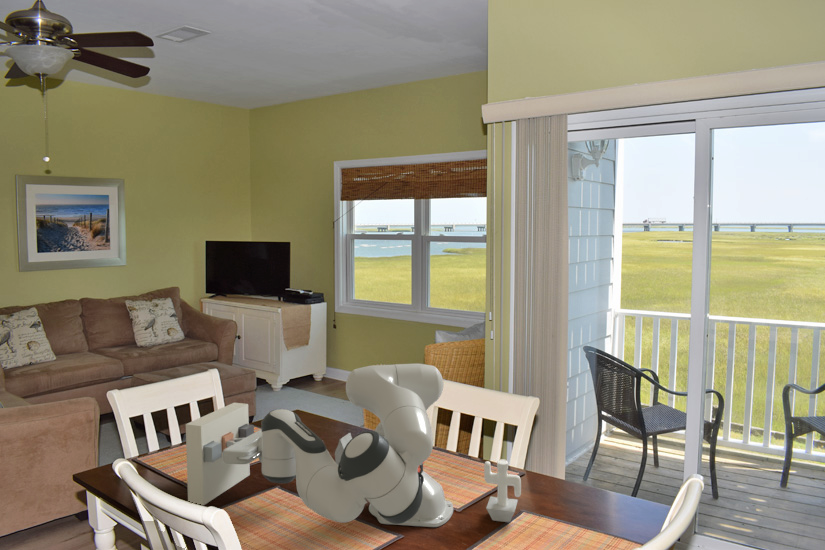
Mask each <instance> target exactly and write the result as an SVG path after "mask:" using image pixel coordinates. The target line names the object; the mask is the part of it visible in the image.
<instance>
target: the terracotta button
mask: <svg viewBox="0 0 825 550" xmlns="http://www.w3.org/2000/svg"><path fill="white" fill-rule="evenodd" d="M232 438H234V434H233V433H227V434H225V435H224V436H222V451H223V450H224V449H226V448H228V447H227V446H226V442H227V441H229V440H231V439H232Z"/></svg>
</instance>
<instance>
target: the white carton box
mask: <svg viewBox="0 0 825 550" xmlns="http://www.w3.org/2000/svg"><path fill="white" fill-rule="evenodd" d="M352 438H353V437H352V434H351V432H348V433H347V434H346V435H344V436H342V437H341V438H339V440H338V444H337V447H336V449H335V452H334V459H335V460H334V461H335V462H336V463H337V464H338V465H339V463H340V460H341V456H342V453H343V451H344V449H345V447H346V445H347V444H348V442H349V441H350V440H351V439H352Z"/></svg>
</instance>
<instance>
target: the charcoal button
mask: <svg viewBox="0 0 825 550" xmlns="http://www.w3.org/2000/svg"><path fill="white" fill-rule="evenodd" d="M253 433H255V425H253V424H249V425H247V424H245V425H243V426H241V427H239V428H238V436H239V438H246V437H248V436H249V435H251V434H253Z"/></svg>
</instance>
